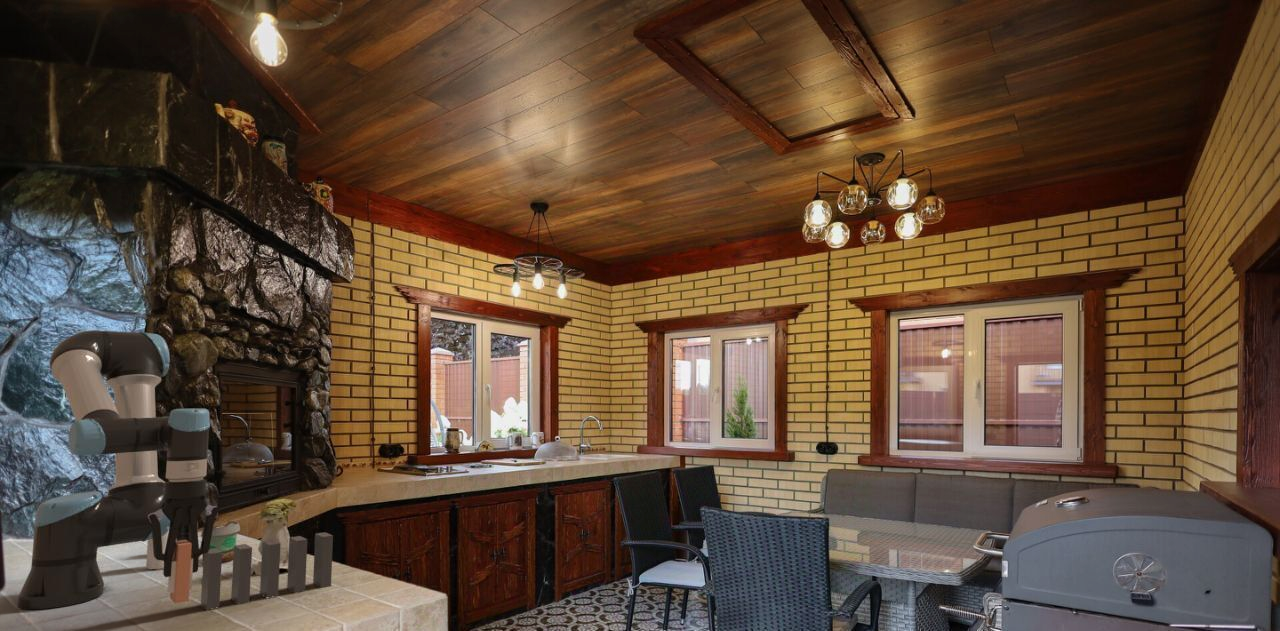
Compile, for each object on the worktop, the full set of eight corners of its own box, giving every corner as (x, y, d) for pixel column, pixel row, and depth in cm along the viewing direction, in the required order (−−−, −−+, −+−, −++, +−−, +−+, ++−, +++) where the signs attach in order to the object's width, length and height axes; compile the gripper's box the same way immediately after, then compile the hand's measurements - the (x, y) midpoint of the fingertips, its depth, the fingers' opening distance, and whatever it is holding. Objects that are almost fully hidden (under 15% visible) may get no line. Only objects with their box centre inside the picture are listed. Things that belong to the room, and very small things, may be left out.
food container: (221, 567, 187) (223, 529, 188) (198, 567, 187) (201, 529, 188) (248, 555, 200) (249, 520, 200) (226, 555, 200) (228, 520, 201)
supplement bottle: (171, 551, 205) (173, 509, 206) (198, 549, 208) (200, 508, 209) (166, 556, 199) (169, 513, 200) (194, 554, 202) (197, 511, 203)
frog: (309, 569, 185) (312, 499, 186) (255, 578, 176) (259, 504, 178) (297, 560, 194) (300, 494, 196) (245, 568, 185) (249, 499, 187)
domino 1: (175, 603, 147) (178, 545, 148) (170, 598, 151) (173, 541, 152) (188, 601, 149) (191, 543, 150) (183, 596, 152) (186, 539, 154)
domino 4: (266, 598, 159) (269, 545, 161) (259, 593, 163) (262, 541, 164) (278, 596, 161) (280, 543, 162) (270, 591, 165) (273, 539, 166)
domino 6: (320, 587, 168) (322, 537, 169) (313, 583, 171) (315, 533, 173) (331, 585, 169) (333, 535, 171) (323, 581, 173) (325, 532, 174)
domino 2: (206, 610, 151) (209, 553, 152) (200, 605, 155) (203, 549, 156) (219, 608, 153) (222, 552, 154) (213, 602, 156) (216, 548, 158)
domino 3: (237, 604, 155) (240, 549, 156) (231, 599, 159) (234, 545, 160) (249, 602, 157) (252, 547, 158) (242, 597, 161) (245, 543, 162)
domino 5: (294, 593, 164) (296, 540, 165) (287, 588, 167) (289, 537, 168) (305, 591, 165) (307, 539, 166) (297, 586, 169) (299, 536, 170)
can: (180, 564, 190) (183, 519, 191) (162, 570, 184) (165, 524, 185) (158, 563, 191) (161, 519, 192) (139, 570, 184) (142, 523, 186)
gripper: (146, 484, 144) (139, 601, 142) (230, 477, 155) (224, 586, 153) (140, 481, 150) (132, 594, 147) (221, 474, 160) (216, 579, 158)
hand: (179, 589), depth 150 cm, fingers closed on domino 1, 2 cm apart
